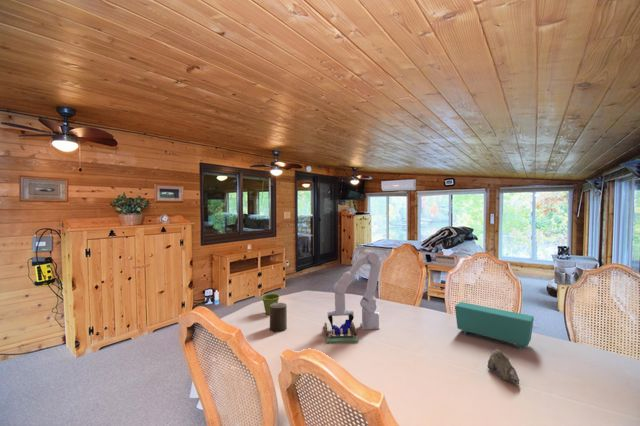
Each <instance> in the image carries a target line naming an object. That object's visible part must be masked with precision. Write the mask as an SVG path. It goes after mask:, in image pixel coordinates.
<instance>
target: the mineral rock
mask: <svg viewBox="0 0 640 426" xmlns="http://www.w3.org/2000/svg"><path fill="white" fill-rule="evenodd" d="M487 369H489V370H491V371H492V372H493V373H494V374H495V375H497V376H498V377H499V378H501V379H502V380H504V381H508V382H510V383H513V384H515V385H518V386H519V385H520V378H519V376H518V373H517V370H516V368H515V367H514V366H513V365H512V364H511V361H510V359H509V357H508V355H506V354H505V353H504V352H503V351H501V350H500V349H497V348H496V349H494V350H493V351H492V352H491V353H490V356H489V359H488V362H487Z"/></svg>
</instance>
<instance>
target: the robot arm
mask: <svg viewBox="0 0 640 426" xmlns="http://www.w3.org/2000/svg"><path fill="white" fill-rule="evenodd" d="M367 264H368V265H369V267H370V268H369V275H368V278H367V283H366V284H367V285H366V290H365V293H363V295H362V298H361V299H360V302H359V305H360V307H361V309H362V310H361V317H362V319H361V322H360V326H361V327H362V330H379V329H380V315H379V311H377V307H378V306H377V299H376V296H375V295H376V290H377V286H378V279H379V277H380V276H379V275H380V270H381V262H380V256H379V255H378V253H377V252H376V251H372V250H369V249H363V250H362V252H361V253H359V255H358V258H357V259H356V261H355V262H354V263H353V265H352V266H351V268H350V269H349V270H348V271H345V272H343V273H342V276H341V277H340V279H339V280H337V282H335V283H334V284H333V286H332V290H333V291H334V310H333V311H327V320H328V321H329V323H330V326H331V328H332V326H333V325H334V324H333V322H334V321H333V320H334V319H333V317H337V316H338V317H339V316H341V317H342V316H348V320H350V321H351V323H352V322H353V320H354V317H355V316H354V311H353V310H346V295H345V294H346V293H347V288H348V287H349V285H350V284H351V283H352V281H353V280H354V278H355V277H354V276H355V274H356V273H357V272H358V271H359V270H360V268H361V267H363V266H364V265H367Z"/></svg>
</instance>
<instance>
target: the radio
mask: <svg viewBox="0 0 640 426" xmlns="http://www.w3.org/2000/svg"><path fill="white" fill-rule="evenodd" d="M454 309H455V317H456V328H457V329H458V330H461V331H464V333H463V334H464V335H466V334H467V332H469V333H473V334H477V335H481V336H484V337H488V338H493V339H496V340H501V341H504V342H507V343H511V344H515V346H516V347H517V349H519V350H521V349H522V348H524V347H528V346H529V344H530V342H531V340H532V333H533V325H534V321H535V320H534V316H533V315H528V314H524V313H520V312H515V311H508V310H505V309H504V310H503V309H500V308H499V309H498V308H494V307H488V306H483V305H479V304H474V303H473V304H472V303H468V302H463V301H460V302H458V303H457V304H456V305H455V306H454Z"/></svg>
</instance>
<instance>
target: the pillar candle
mask: <svg viewBox="0 0 640 426" xmlns="http://www.w3.org/2000/svg"><path fill="white" fill-rule="evenodd" d="M287 306H288V305H287V304H286V303H284V302H278V303H273V304H271V305H270V315H269V330H270V331H271V332H273V333H282V332H285V331H286V330H287V327H288V323H287V322H288V321H287V317H288V316H287V313H288V312H287V311H288V310H287Z"/></svg>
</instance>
